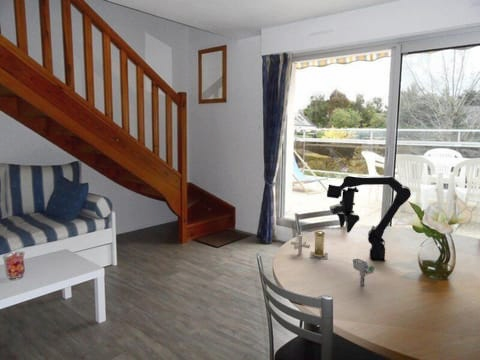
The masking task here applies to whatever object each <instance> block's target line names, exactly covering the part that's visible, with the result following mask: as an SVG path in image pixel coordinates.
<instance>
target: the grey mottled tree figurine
mask: <svg viewBox="0 0 480 360" xmlns="http://www.w3.org/2000/svg"><path fill="white" fill-rule="evenodd" d="M352 266H353V269H354V270H356V271H359V276H360V280H359V286H360V287H363V286H365V280H366V279H365V277H366V276H368V275H371V274H374V271H375V267H374V266H373V265H368V262H367V261H364V260H362V259H360V258H353V259H352Z"/></svg>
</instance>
